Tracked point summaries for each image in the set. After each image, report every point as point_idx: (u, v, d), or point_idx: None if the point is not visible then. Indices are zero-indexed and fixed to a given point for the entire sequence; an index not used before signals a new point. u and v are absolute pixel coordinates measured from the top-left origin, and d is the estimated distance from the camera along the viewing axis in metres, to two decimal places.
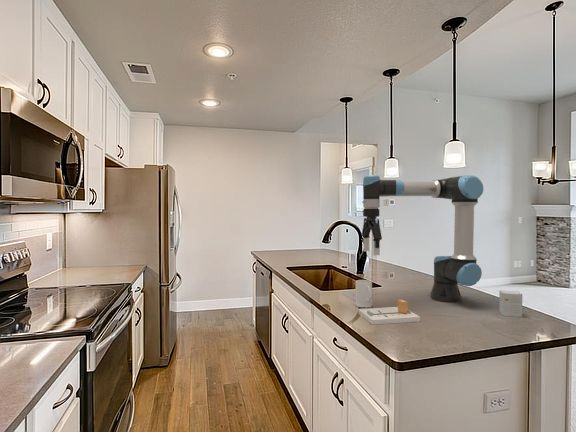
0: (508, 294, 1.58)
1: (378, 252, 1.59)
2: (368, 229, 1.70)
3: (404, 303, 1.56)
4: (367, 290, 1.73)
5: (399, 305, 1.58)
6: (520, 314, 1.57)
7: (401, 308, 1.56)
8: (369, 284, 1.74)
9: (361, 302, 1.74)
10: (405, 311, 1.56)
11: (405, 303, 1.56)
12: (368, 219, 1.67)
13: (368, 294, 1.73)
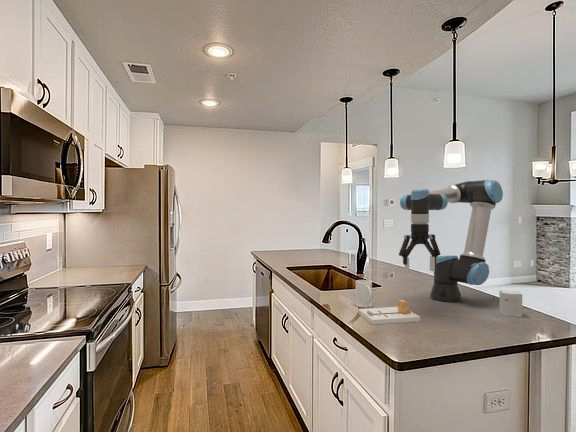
0: (508, 294, 1.58)
1: (407, 269, 1.57)
2: (426, 246, 1.59)
3: (404, 303, 1.56)
4: (367, 290, 1.73)
5: (399, 305, 1.58)
6: (520, 314, 1.57)
7: (401, 308, 1.56)
8: (369, 284, 1.74)
9: (361, 302, 1.74)
10: (405, 311, 1.56)
11: (405, 303, 1.56)
12: None
13: (368, 294, 1.73)
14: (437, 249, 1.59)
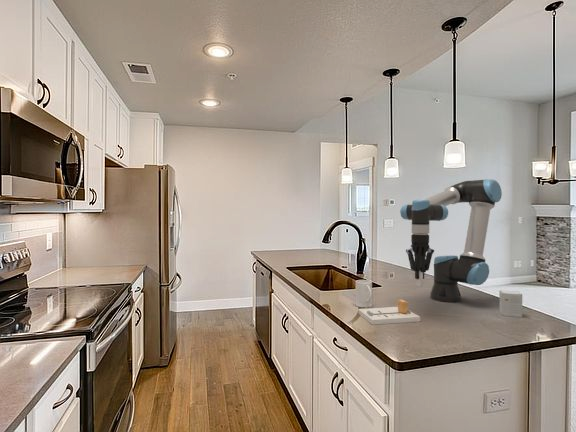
0: (508, 294, 1.58)
1: (419, 284, 1.58)
2: (421, 258, 1.59)
3: (404, 303, 1.56)
4: (367, 290, 1.73)
5: (399, 305, 1.58)
6: (520, 314, 1.57)
7: (401, 308, 1.56)
8: (369, 284, 1.74)
9: (361, 302, 1.74)
10: (405, 311, 1.56)
11: (405, 303, 1.56)
12: None
13: (368, 294, 1.73)
14: (428, 264, 1.58)
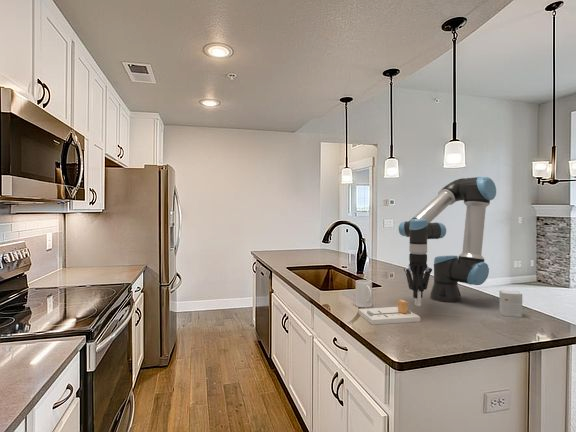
0: (508, 294, 1.58)
1: (417, 303, 1.58)
2: (419, 277, 1.59)
3: (404, 303, 1.56)
4: (367, 290, 1.73)
5: (399, 305, 1.58)
6: (520, 314, 1.57)
7: (401, 308, 1.56)
8: (369, 284, 1.74)
9: (361, 302, 1.74)
10: (405, 311, 1.56)
11: (405, 303, 1.56)
12: None
13: (368, 294, 1.73)
14: (426, 283, 1.58)
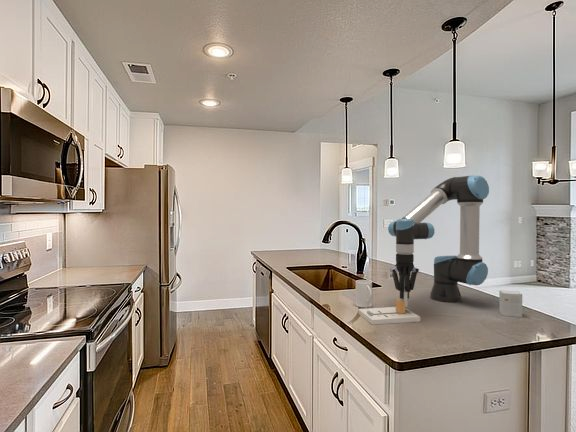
0: (508, 294, 1.58)
1: None
2: (405, 277, 1.57)
3: (402, 303, 1.55)
4: (367, 290, 1.73)
5: (397, 305, 1.57)
6: (520, 314, 1.57)
7: (399, 308, 1.56)
8: (369, 284, 1.74)
9: (361, 302, 1.74)
10: (403, 311, 1.55)
11: (403, 303, 1.55)
12: None
13: (368, 294, 1.73)
14: (413, 283, 1.57)
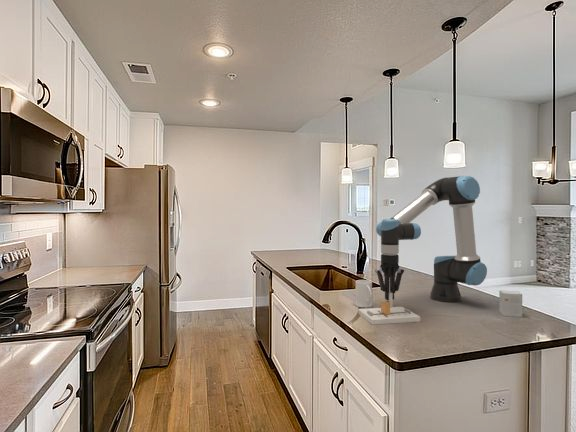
0: (508, 294, 1.58)
1: None
2: (391, 278, 1.56)
3: (387, 304, 1.54)
4: (367, 290, 1.73)
5: (382, 306, 1.56)
6: (520, 314, 1.57)
7: (384, 309, 1.55)
8: (369, 284, 1.74)
9: (361, 302, 1.74)
10: (388, 312, 1.54)
11: (388, 304, 1.54)
12: None
13: (368, 294, 1.73)
14: (398, 284, 1.56)
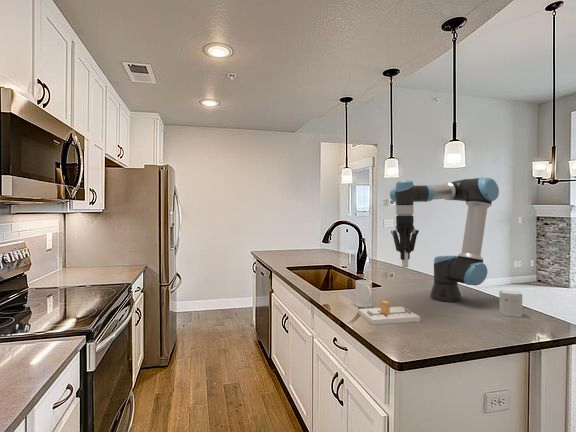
0: (508, 294, 1.58)
1: (404, 264, 1.59)
2: (406, 239, 1.60)
3: (386, 304, 1.54)
4: (367, 290, 1.73)
5: (382, 306, 1.56)
6: (520, 314, 1.57)
7: (383, 309, 1.54)
8: (369, 284, 1.74)
9: (361, 302, 1.74)
10: (387, 312, 1.54)
11: (387, 304, 1.54)
12: None
13: (368, 294, 1.73)
14: (413, 244, 1.59)
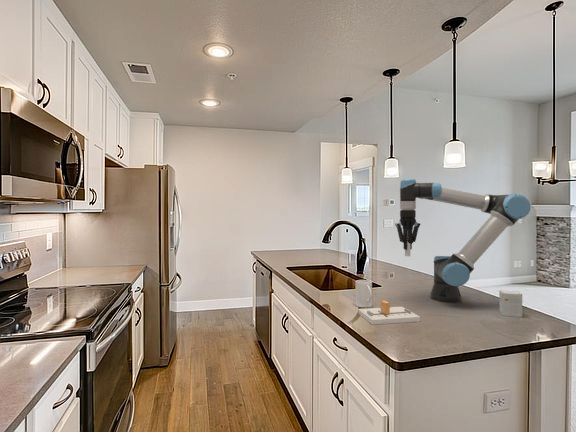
0: (508, 294, 1.58)
1: (407, 253, 1.78)
2: (408, 231, 1.79)
3: (386, 304, 1.54)
4: (367, 290, 1.73)
5: (382, 306, 1.56)
6: (520, 314, 1.57)
7: (383, 309, 1.54)
8: (369, 284, 1.74)
9: (361, 302, 1.74)
10: (387, 312, 1.54)
11: (387, 304, 1.54)
12: None
13: (368, 294, 1.73)
14: (415, 236, 1.78)
